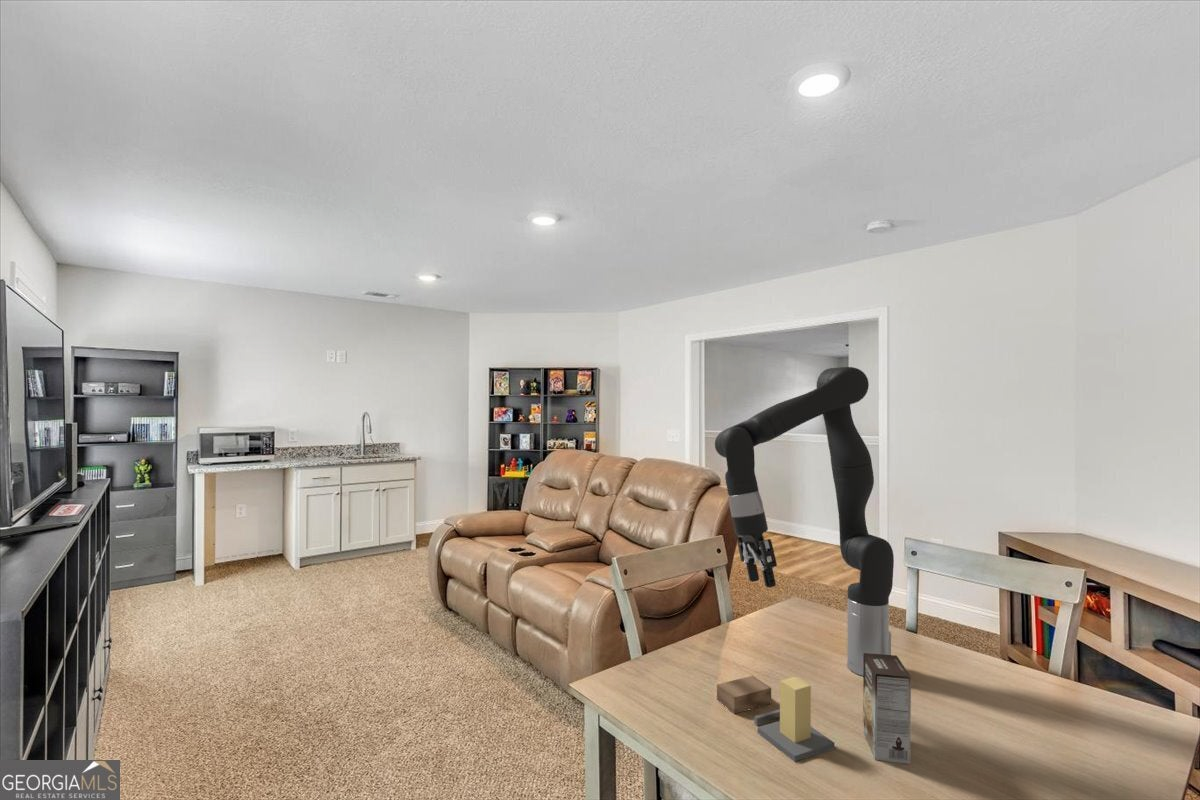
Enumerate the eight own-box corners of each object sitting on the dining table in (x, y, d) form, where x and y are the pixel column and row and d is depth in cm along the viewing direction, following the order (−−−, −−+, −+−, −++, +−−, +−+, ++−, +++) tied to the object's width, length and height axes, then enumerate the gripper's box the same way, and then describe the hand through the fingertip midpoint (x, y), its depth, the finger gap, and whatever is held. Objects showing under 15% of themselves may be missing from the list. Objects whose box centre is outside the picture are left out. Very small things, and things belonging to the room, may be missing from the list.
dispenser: (752, 691, 128) (752, 675, 128) (789, 716, 118) (789, 699, 118) (716, 700, 124) (716, 684, 124) (751, 727, 113) (751, 710, 113)
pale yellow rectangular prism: (795, 726, 112) (795, 676, 112) (810, 737, 108) (810, 685, 108) (779, 731, 110) (780, 680, 110) (795, 742, 107) (795, 689, 107)
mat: (795, 720, 116) (795, 716, 116) (834, 747, 107) (834, 742, 107) (757, 732, 112) (757, 727, 112) (794, 761, 103) (794, 756, 103)
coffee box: (861, 732, 112) (861, 651, 112) (896, 736, 111) (896, 654, 111) (874, 760, 103) (874, 672, 103) (912, 765, 102) (912, 676, 102)
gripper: (776, 510, 124) (792, 585, 122) (749, 508, 138) (763, 575, 136) (745, 516, 123) (760, 592, 121) (721, 514, 137) (735, 582, 135)
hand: (762, 583), depth 128 cm, fingers open, 8 cm apart
